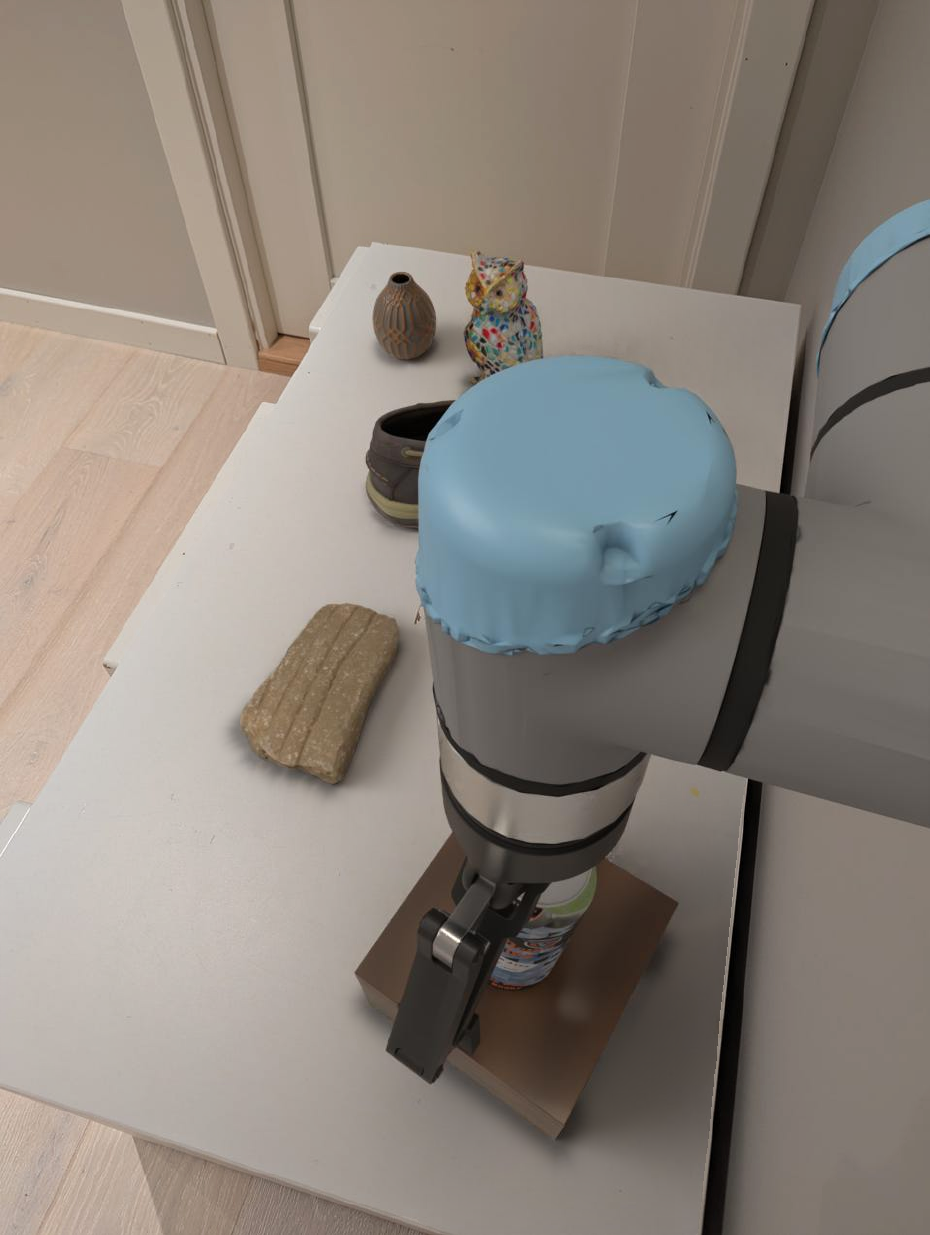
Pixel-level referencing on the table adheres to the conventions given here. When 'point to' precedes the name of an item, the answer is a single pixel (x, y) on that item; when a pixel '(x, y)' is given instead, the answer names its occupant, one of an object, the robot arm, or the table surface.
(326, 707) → the decorative stone
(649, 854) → the table surface
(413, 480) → the boat shoe
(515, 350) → the figurine
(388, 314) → the vase
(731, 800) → the table surface
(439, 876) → the walnut shelf
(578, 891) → the beverage can
